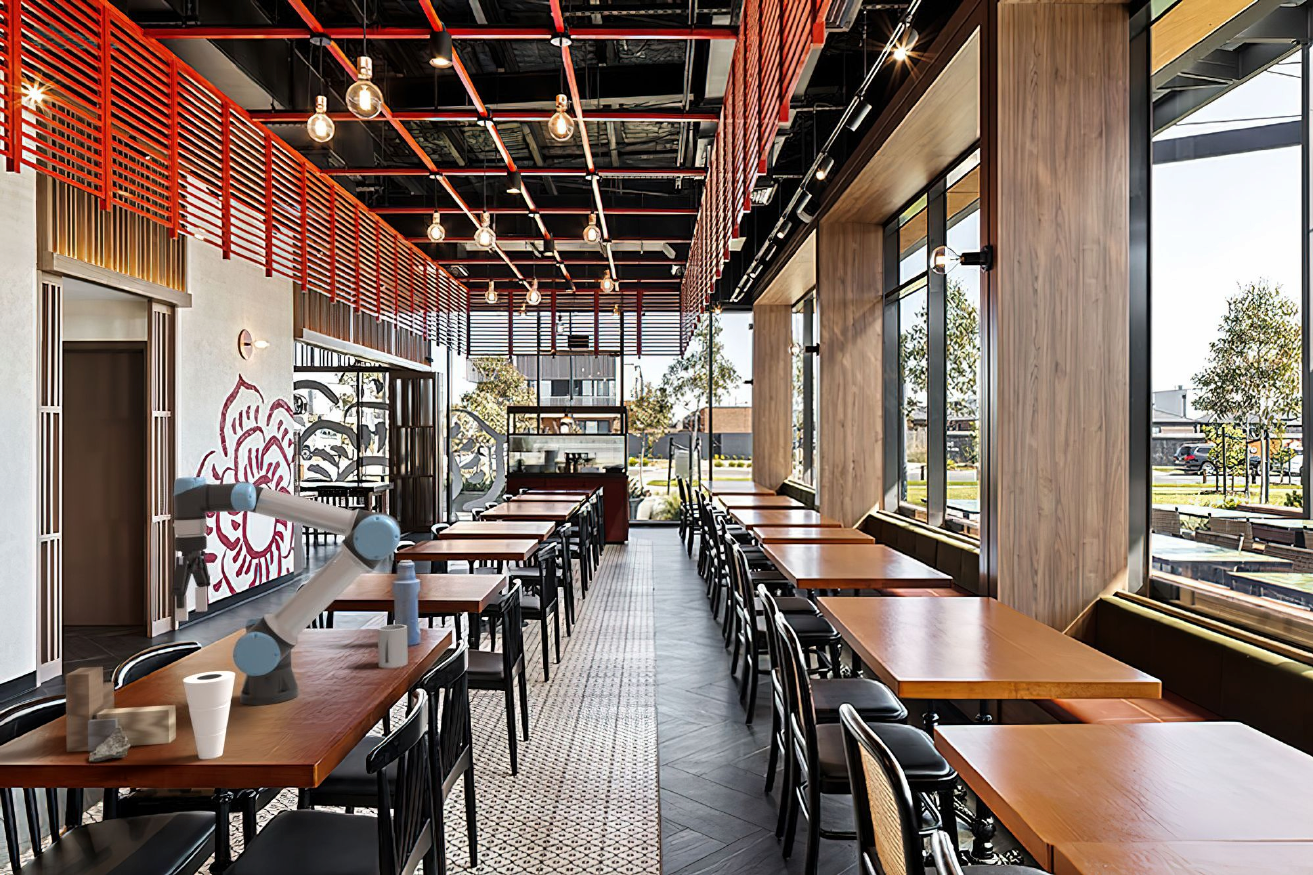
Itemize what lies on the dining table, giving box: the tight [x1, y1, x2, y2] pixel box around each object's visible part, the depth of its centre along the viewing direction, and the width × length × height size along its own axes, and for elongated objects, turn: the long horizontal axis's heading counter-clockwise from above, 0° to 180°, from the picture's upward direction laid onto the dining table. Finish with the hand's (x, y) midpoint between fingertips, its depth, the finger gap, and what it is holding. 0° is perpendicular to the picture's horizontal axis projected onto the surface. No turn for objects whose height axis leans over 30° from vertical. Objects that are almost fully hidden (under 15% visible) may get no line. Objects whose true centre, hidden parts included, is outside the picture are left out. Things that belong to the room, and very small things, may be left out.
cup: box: [377, 624, 409, 669], centre depth 284 cm, size 9×9×12 cm
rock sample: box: [88, 726, 131, 762], centre depth 201 cm, size 10×8×9 cm
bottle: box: [391, 559, 422, 647], centre depth 314 cm, size 10×10×30 cm
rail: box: [94, 704, 177, 747], centre depth 210 cm, size 17×4×8 cm, turn 98°
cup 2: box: [182, 670, 236, 760], centre depth 200 cm, size 11×11×18 cm
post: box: [65, 666, 118, 753], centre depth 213 cm, size 11×17×18 cm, turn 9°
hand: (191, 615), depth 231 cm, fingers open, 13 cm apart
